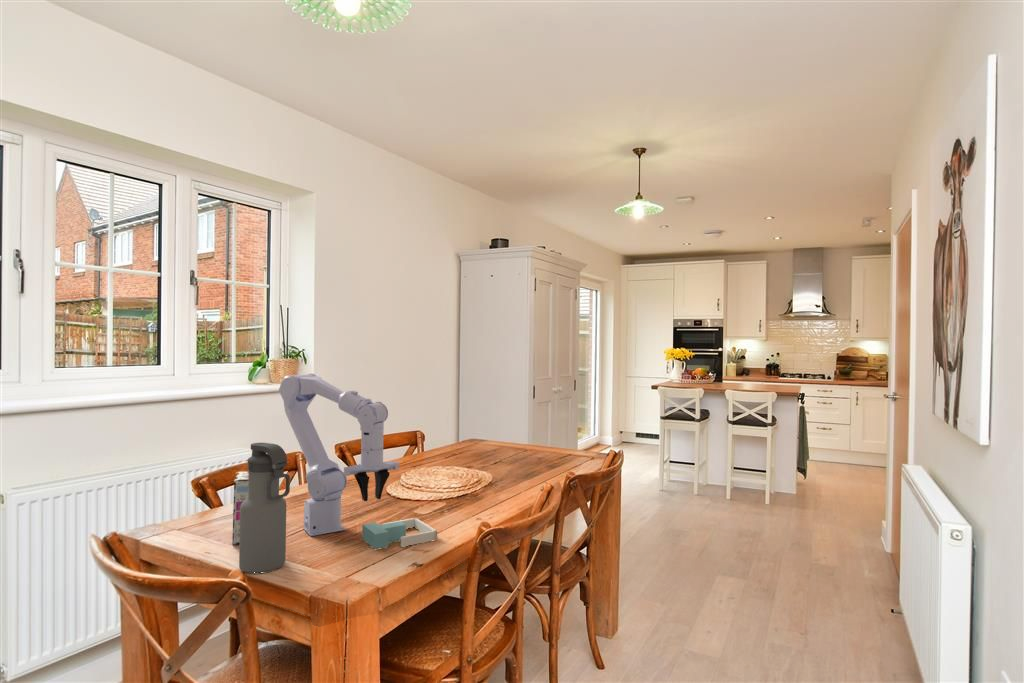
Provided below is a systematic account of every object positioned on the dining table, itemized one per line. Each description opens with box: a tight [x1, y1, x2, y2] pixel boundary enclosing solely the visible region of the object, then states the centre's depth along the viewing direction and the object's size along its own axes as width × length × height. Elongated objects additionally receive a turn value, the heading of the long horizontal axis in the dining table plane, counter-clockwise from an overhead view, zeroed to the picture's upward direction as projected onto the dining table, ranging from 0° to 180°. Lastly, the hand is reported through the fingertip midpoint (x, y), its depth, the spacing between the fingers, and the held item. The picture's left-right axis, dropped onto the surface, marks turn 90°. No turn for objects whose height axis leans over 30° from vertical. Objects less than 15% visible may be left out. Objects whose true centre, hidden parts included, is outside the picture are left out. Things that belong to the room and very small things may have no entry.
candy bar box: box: [231, 470, 248, 546], centre depth 149 cm, size 11×5×16 cm, turn 21°
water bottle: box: [238, 442, 291, 574], centre depth 131 cm, size 10×10×28 cm
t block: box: [361, 520, 407, 550], centre depth 148 cm, size 10×9×4 cm
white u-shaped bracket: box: [383, 517, 438, 548], centre depth 152 cm, size 10×13×2 cm
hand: (371, 499), depth 151 cm, fingers open, 3 cm apart
